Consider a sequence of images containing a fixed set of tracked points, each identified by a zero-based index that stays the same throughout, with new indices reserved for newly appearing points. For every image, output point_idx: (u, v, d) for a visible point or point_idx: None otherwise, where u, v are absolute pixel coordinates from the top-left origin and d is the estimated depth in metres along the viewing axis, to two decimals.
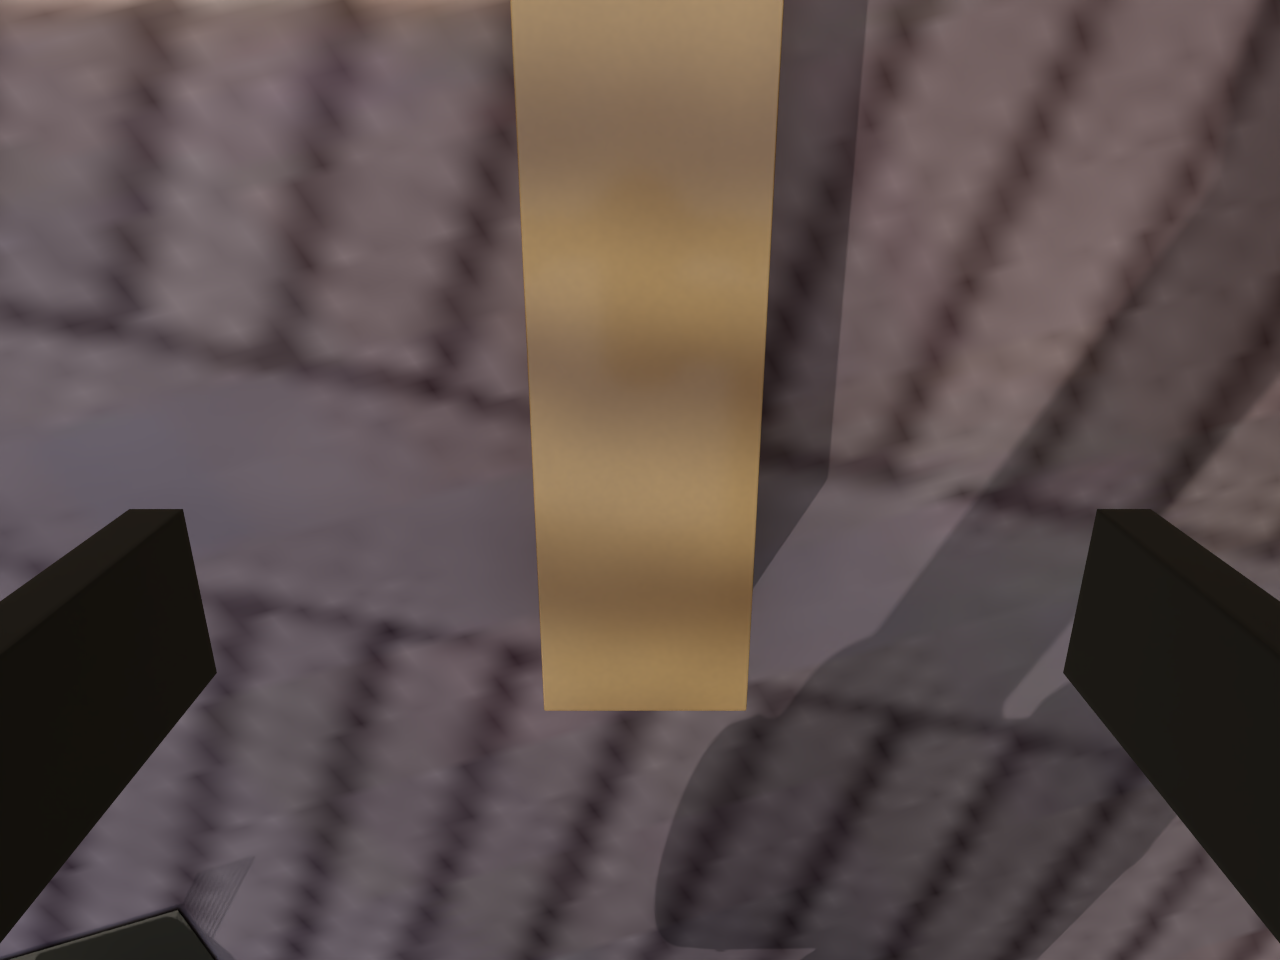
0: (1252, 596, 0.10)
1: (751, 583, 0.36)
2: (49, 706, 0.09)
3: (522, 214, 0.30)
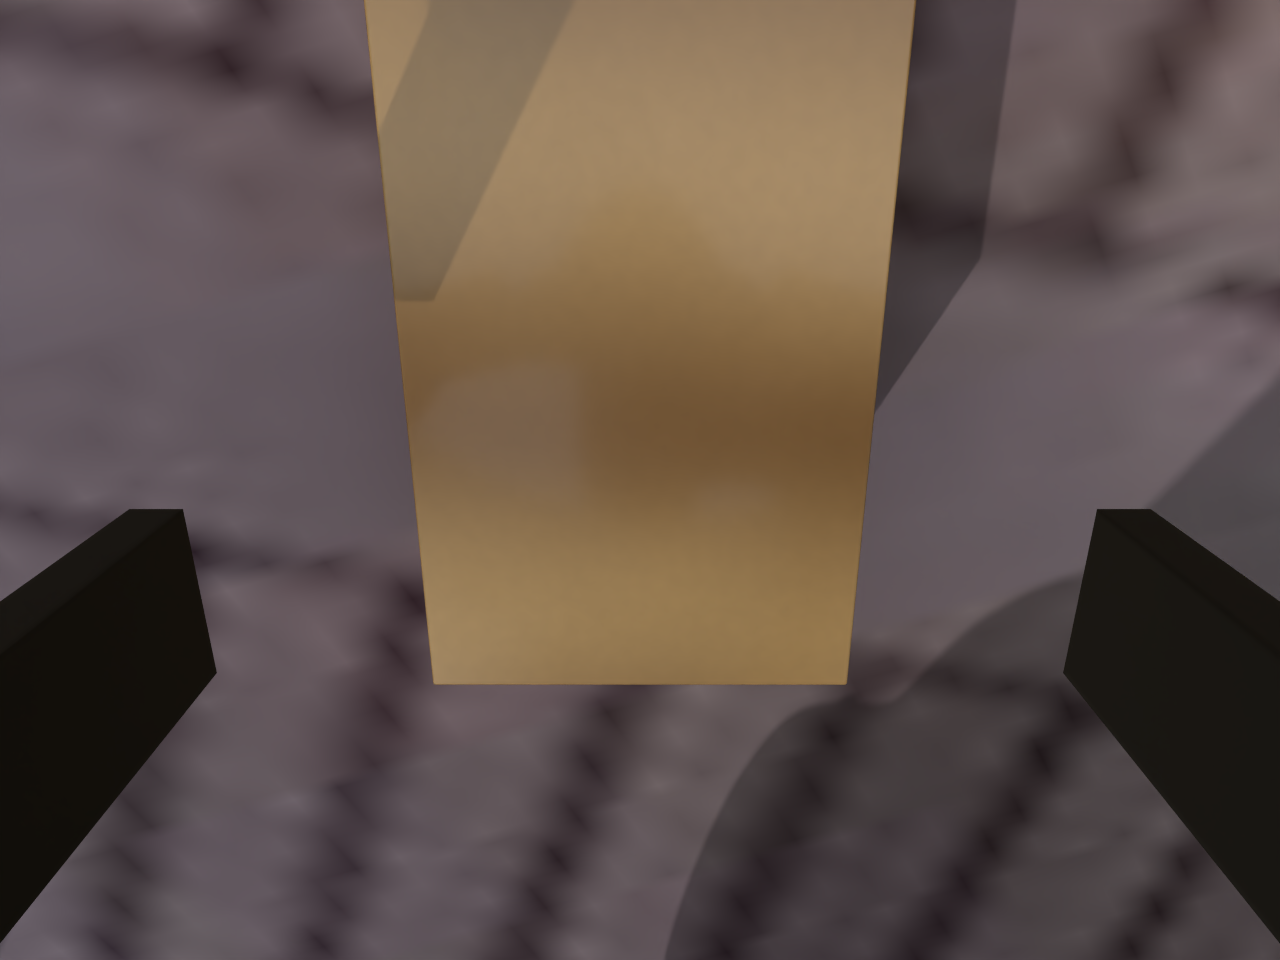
0: (1252, 595, 0.10)
1: (872, 402, 0.16)
2: (49, 706, 0.09)
3: None
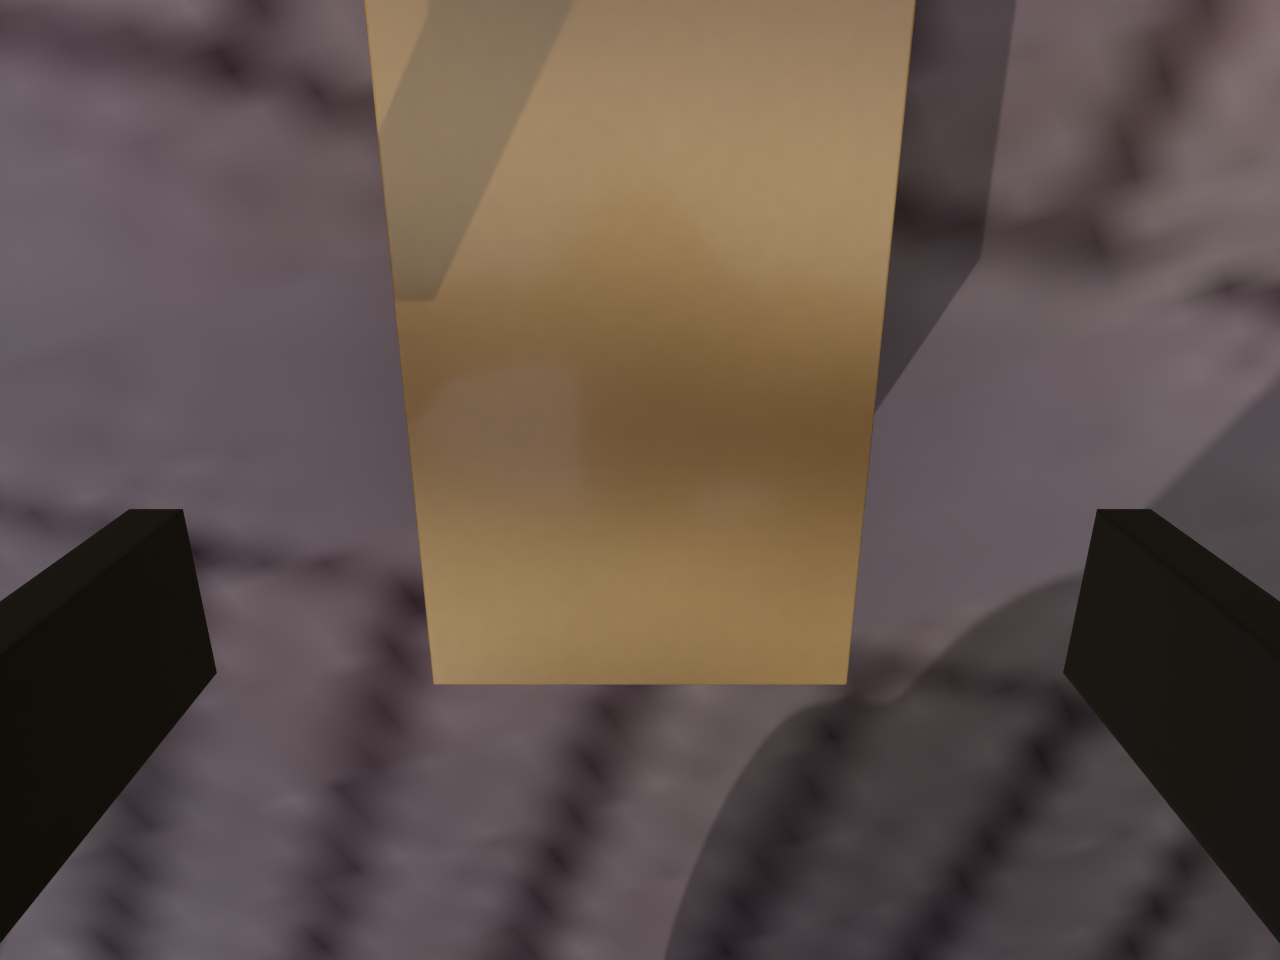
0: (1252, 596, 0.10)
1: (872, 402, 0.16)
2: (49, 706, 0.09)
3: None
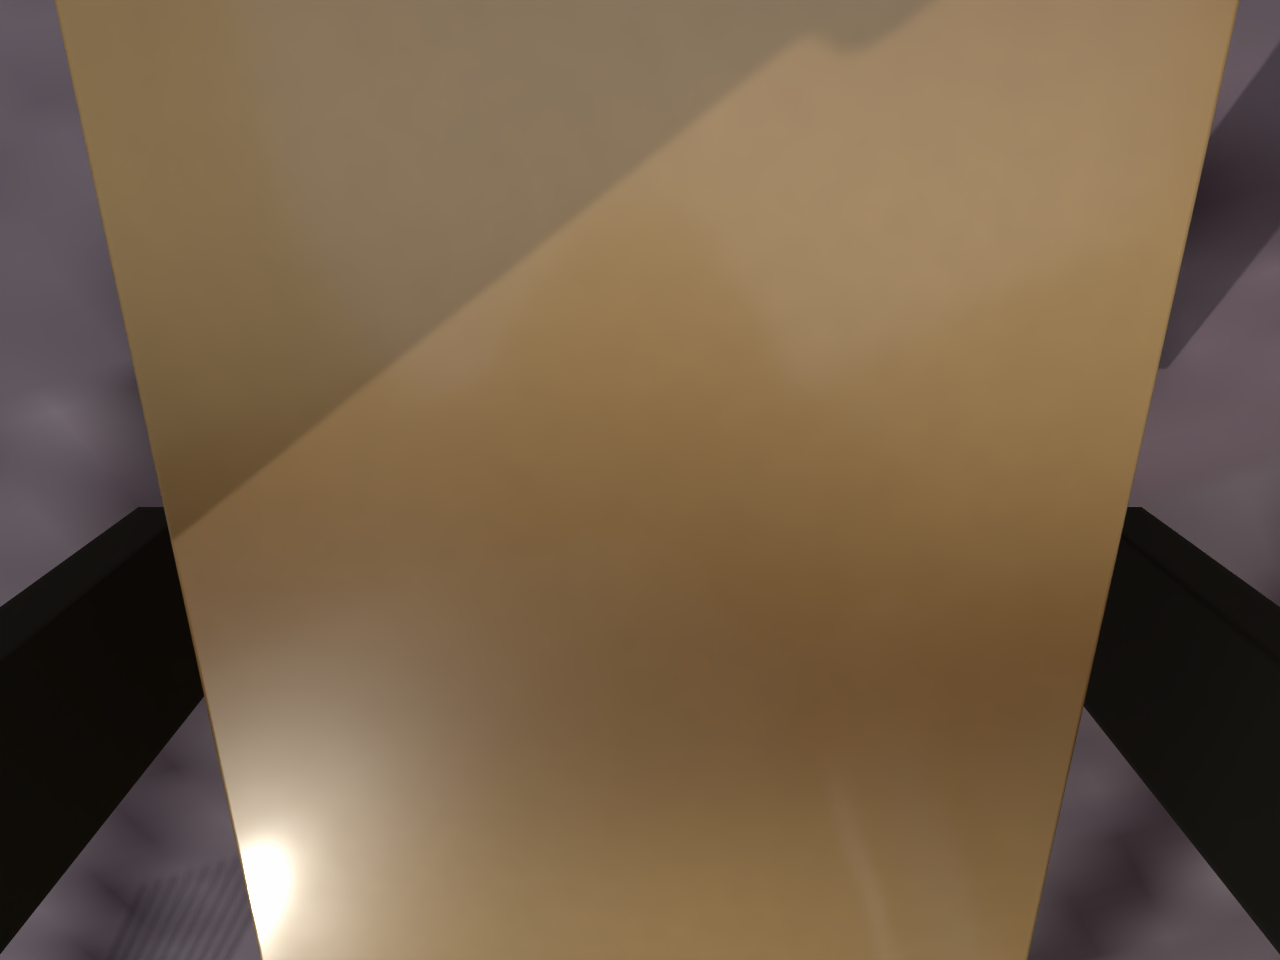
0: (1240, 592, 0.10)
1: (1094, 636, 0.08)
2: (61, 702, 0.10)
3: None
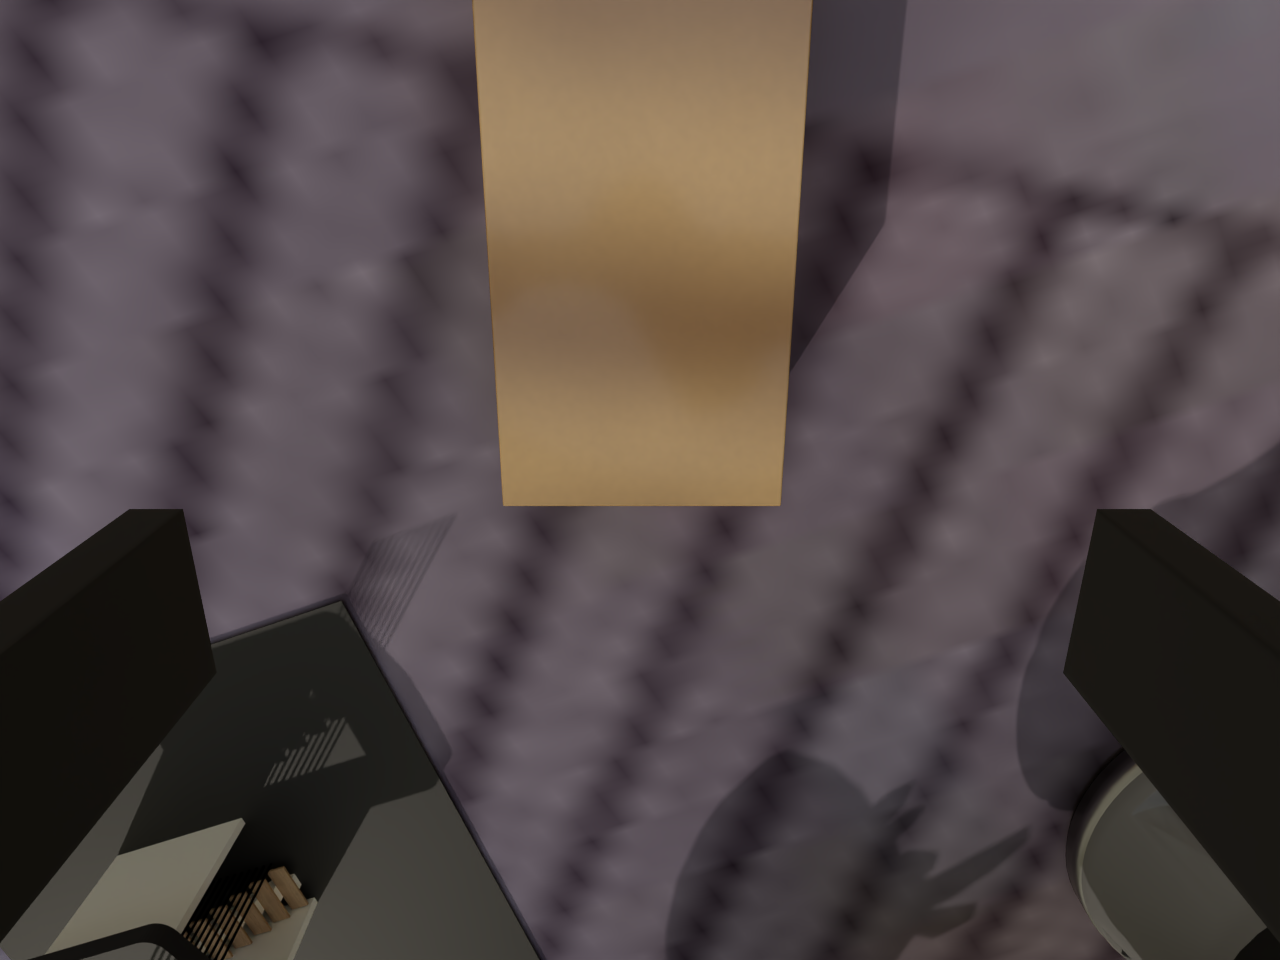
0: (1252, 596, 0.10)
1: (791, 308, 0.25)
2: (49, 706, 0.09)
3: None
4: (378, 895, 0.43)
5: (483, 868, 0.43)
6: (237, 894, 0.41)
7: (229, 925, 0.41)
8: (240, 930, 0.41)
